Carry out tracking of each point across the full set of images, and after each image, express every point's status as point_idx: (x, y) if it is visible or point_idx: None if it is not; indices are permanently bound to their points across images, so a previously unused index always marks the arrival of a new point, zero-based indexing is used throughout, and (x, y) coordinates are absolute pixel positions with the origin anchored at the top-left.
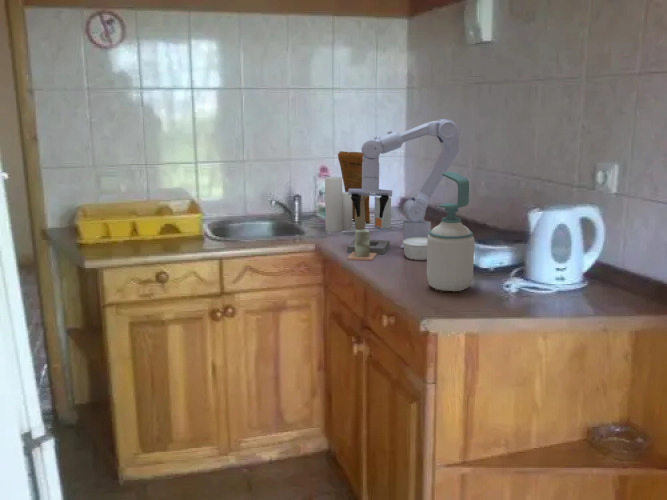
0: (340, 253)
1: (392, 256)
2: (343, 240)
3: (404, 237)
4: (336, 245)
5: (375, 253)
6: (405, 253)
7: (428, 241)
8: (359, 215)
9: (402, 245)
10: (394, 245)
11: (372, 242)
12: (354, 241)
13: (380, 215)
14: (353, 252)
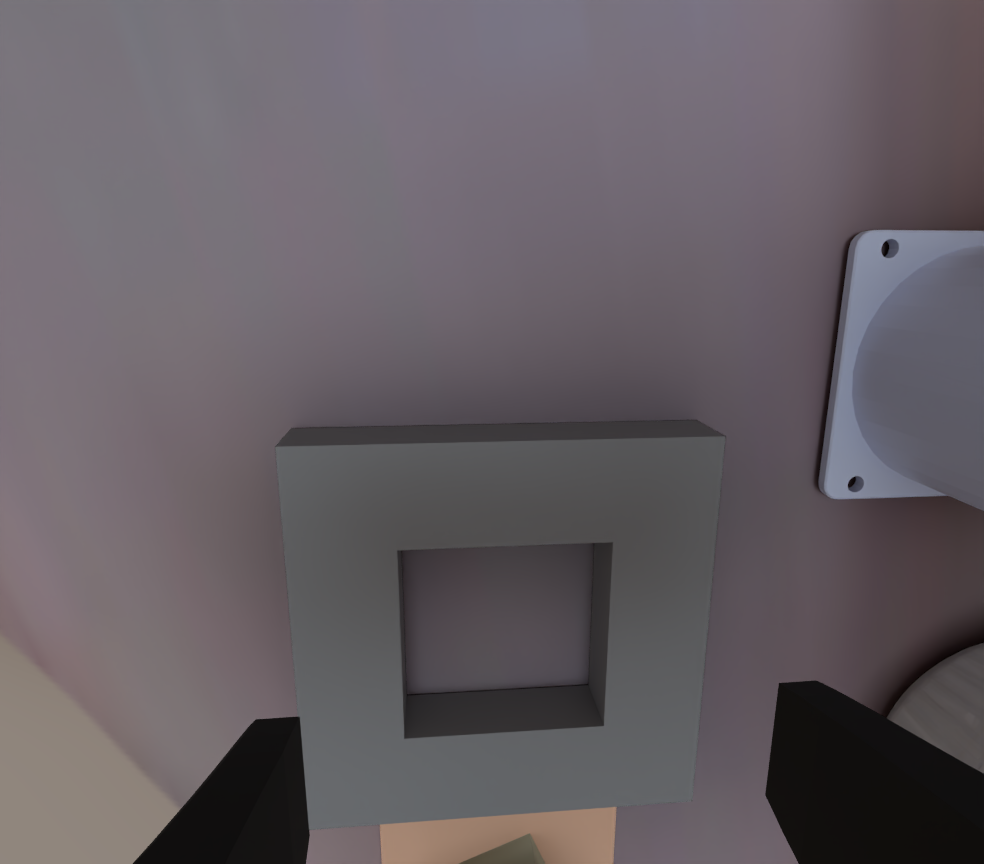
0: None
1: (754, 791)
2: (54, 207)
3: (939, 471)
4: (81, 507)
5: (607, 812)
6: None
7: None
8: (300, 803)
9: (848, 438)
10: (746, 360)
11: (529, 543)
12: (309, 580)
13: (820, 854)
14: (393, 829)
